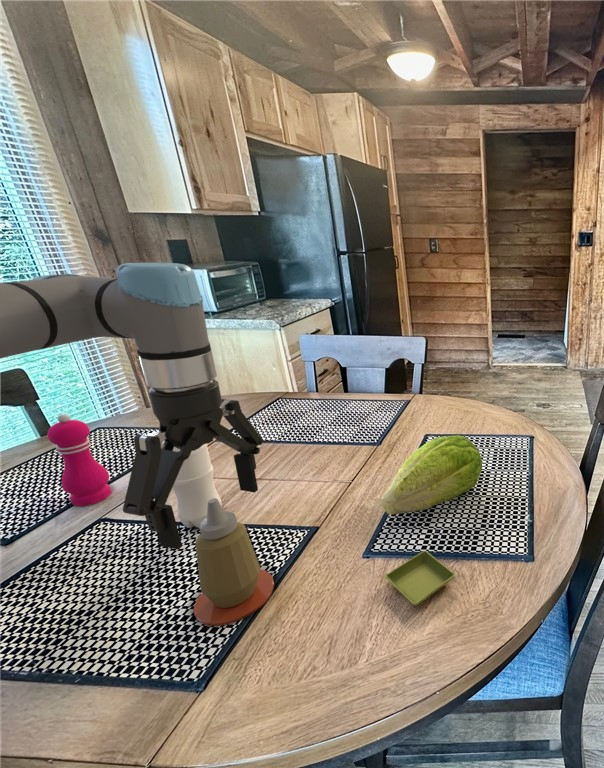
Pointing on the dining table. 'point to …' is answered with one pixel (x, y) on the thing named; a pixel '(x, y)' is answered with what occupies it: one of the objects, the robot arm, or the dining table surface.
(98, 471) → the pepper mill
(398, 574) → the green square tray
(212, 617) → the coaster
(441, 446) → the lettuce
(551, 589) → the dining table surface
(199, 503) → the water bottle
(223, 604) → the squeeze bottle
